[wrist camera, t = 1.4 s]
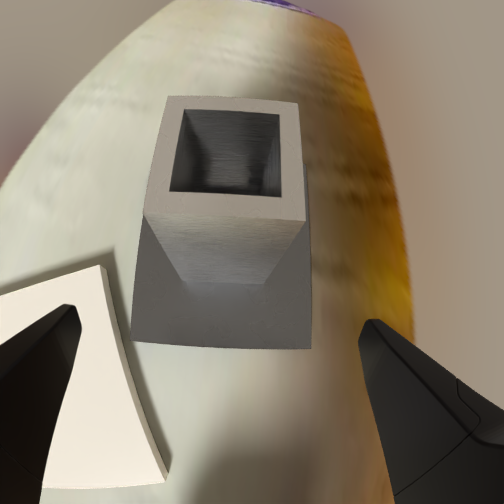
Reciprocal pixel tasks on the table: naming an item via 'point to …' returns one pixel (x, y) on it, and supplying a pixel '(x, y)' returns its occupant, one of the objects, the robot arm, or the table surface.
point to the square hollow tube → (226, 186)
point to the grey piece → (223, 301)
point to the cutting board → (90, 389)
